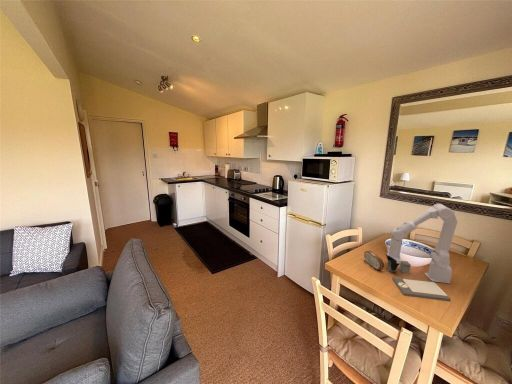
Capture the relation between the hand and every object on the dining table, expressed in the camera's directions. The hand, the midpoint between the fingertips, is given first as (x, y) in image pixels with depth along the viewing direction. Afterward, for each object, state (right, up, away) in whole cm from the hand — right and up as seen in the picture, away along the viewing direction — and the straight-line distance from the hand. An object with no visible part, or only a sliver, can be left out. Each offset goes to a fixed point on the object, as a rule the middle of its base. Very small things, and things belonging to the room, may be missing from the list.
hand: (391, 268), depth 132 cm
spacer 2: (+7, -2, -1) cm, 7 cm away
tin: (-9, -1, +5) cm, 11 cm away
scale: (+4, -5, -17) cm, 18 cm away
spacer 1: (0, -1, 0) cm, 1 cm away
